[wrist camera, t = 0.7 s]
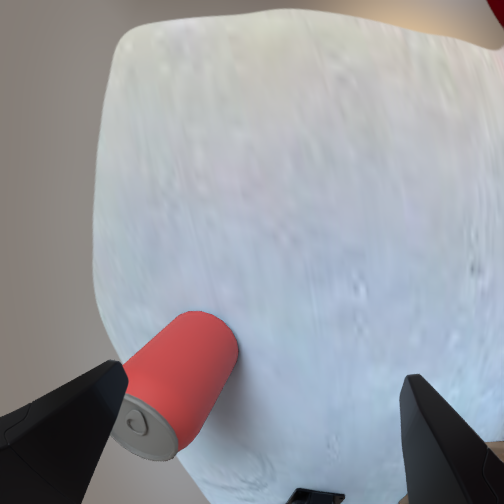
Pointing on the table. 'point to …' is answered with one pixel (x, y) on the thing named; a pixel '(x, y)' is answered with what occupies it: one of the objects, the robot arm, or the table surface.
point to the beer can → (174, 385)
